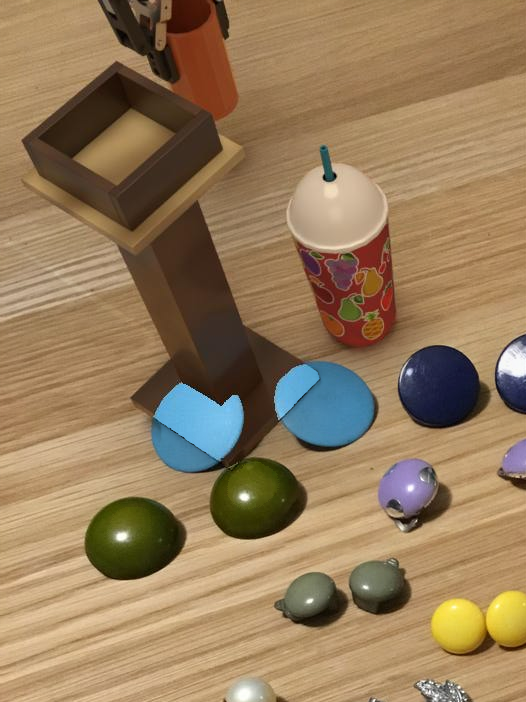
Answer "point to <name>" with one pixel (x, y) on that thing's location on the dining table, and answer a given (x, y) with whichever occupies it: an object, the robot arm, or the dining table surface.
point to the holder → (161, 233)
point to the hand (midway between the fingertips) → (194, 57)
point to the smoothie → (345, 250)
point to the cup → (201, 57)
